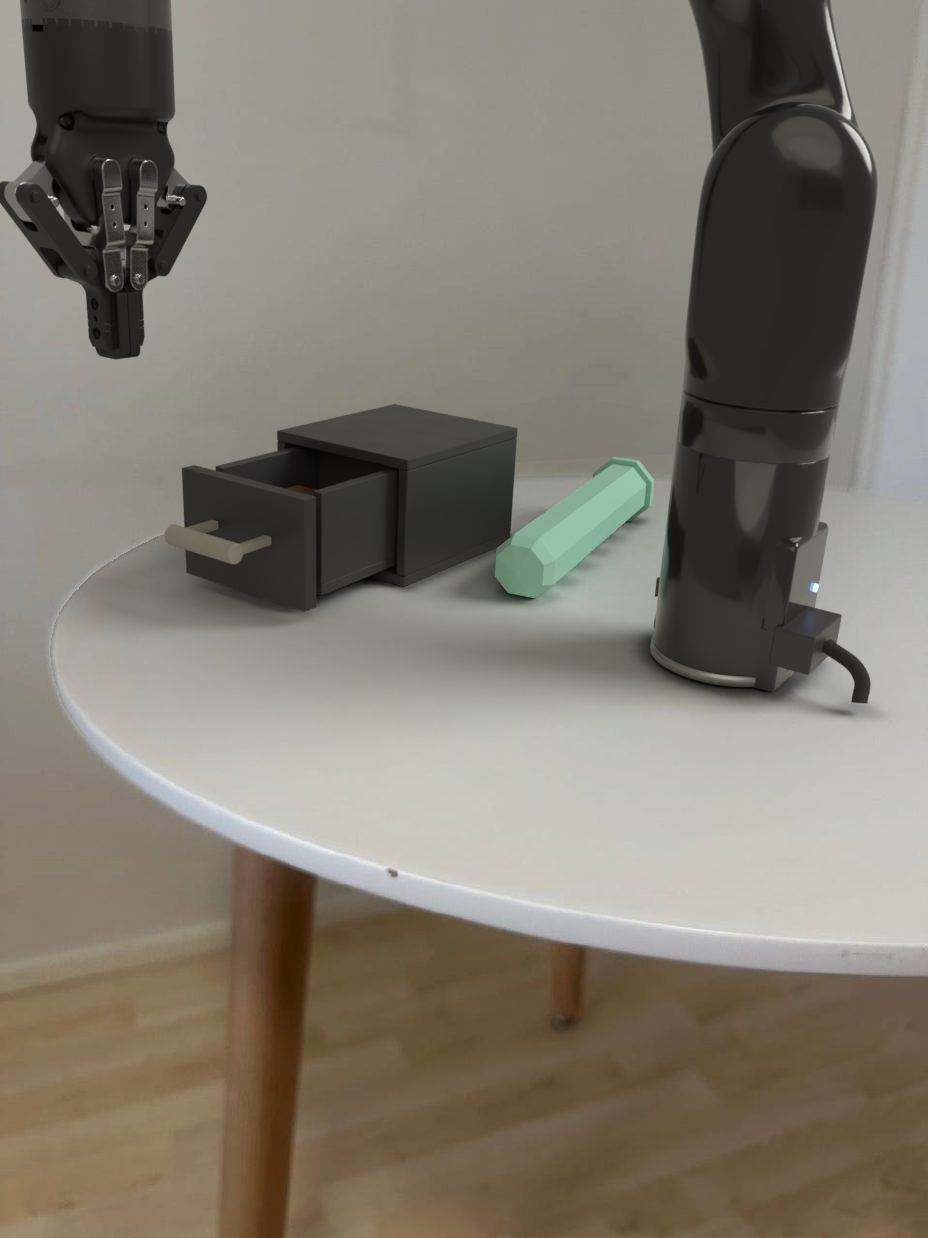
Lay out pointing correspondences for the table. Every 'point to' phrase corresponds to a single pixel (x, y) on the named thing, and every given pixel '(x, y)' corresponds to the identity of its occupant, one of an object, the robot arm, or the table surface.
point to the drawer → (289, 523)
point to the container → (573, 527)
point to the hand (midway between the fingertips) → (117, 356)
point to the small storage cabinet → (429, 480)
